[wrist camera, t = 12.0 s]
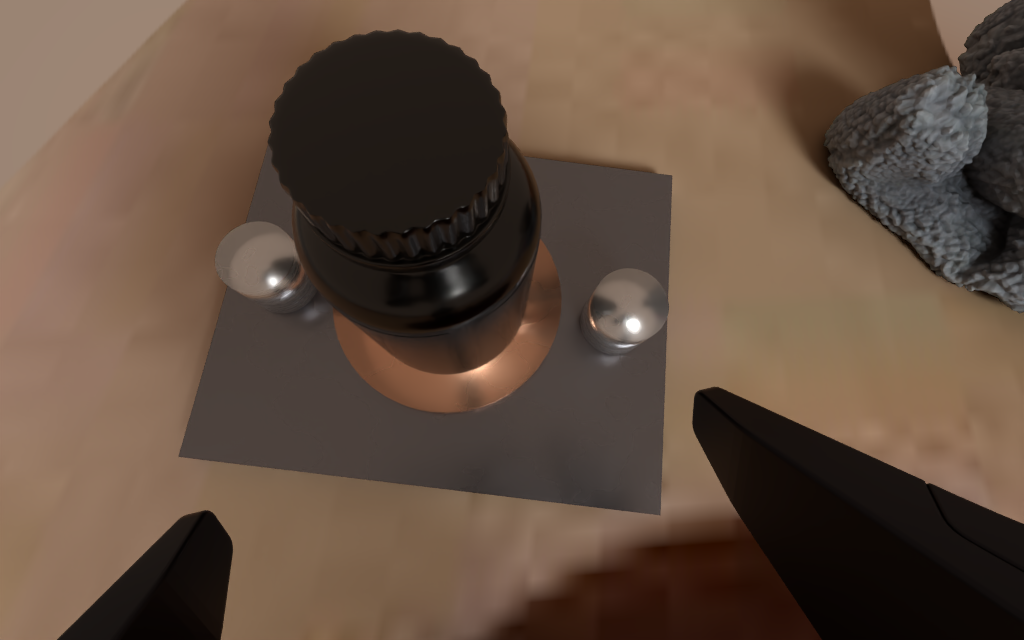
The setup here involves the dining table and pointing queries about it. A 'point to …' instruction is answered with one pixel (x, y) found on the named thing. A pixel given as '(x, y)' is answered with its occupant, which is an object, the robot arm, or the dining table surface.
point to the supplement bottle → (409, 197)
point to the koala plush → (948, 159)
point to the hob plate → (465, 396)
